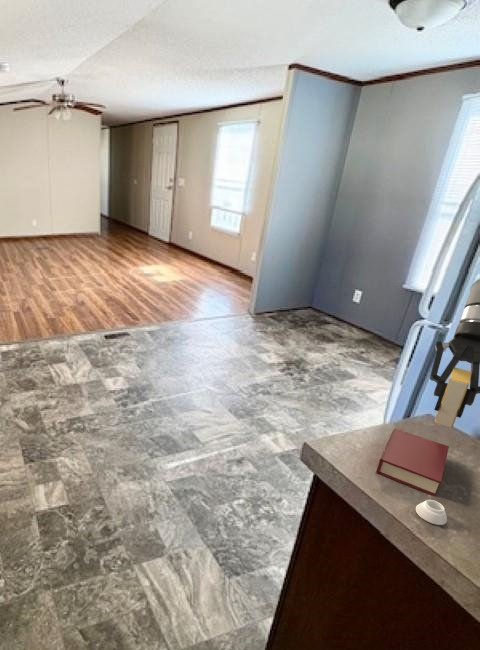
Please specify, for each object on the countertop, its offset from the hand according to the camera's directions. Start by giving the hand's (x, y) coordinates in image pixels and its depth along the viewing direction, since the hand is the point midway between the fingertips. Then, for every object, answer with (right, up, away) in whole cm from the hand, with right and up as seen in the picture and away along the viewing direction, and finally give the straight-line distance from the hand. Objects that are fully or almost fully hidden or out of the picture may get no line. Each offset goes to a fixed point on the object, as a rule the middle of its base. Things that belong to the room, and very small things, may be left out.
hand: (447, 411), depth 99 cm
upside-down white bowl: (-16, -18, -15) cm, 28 cm away
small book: (+3, -2, +4) cm, 5 cm away
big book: (-9, -13, -1) cm, 16 cm away
